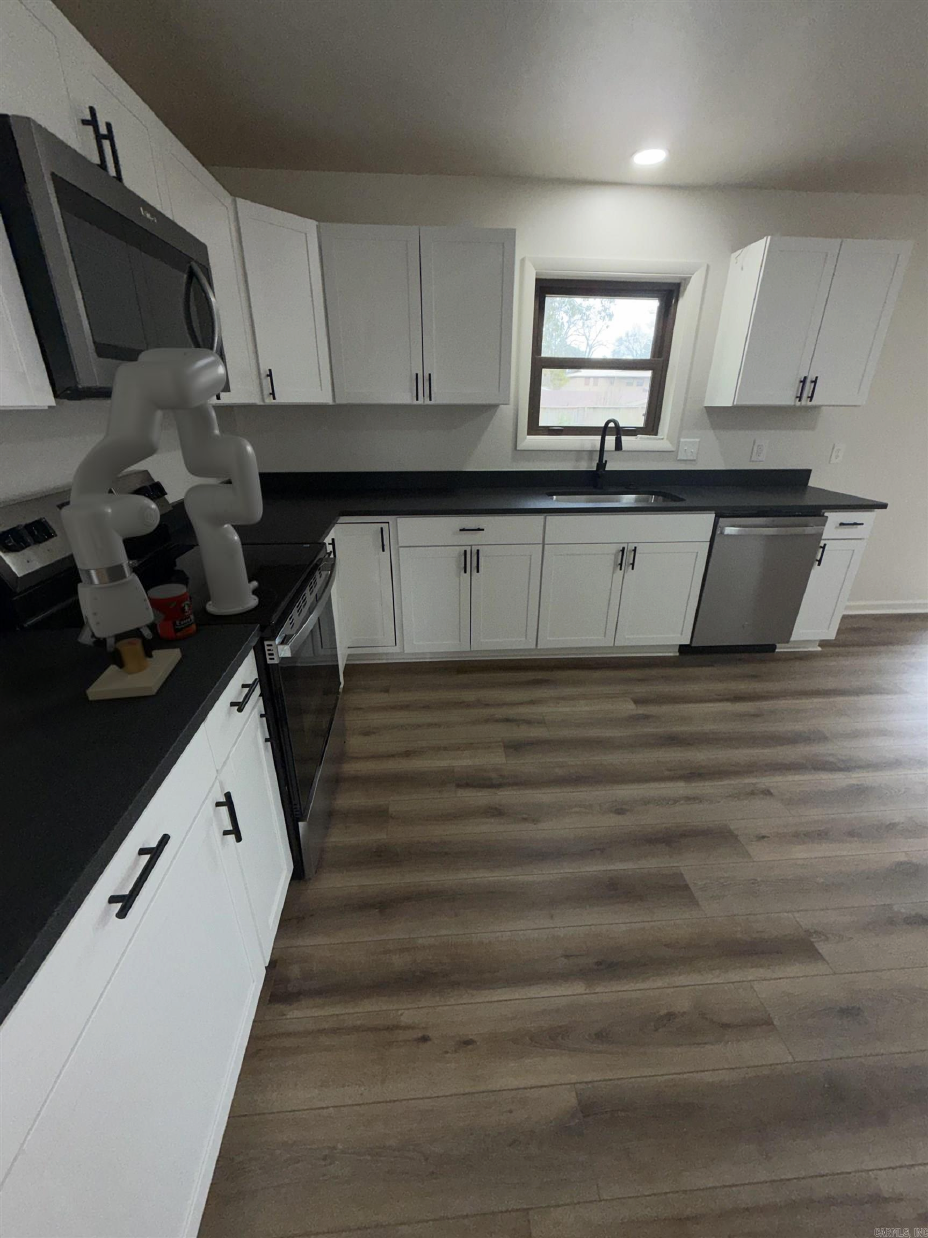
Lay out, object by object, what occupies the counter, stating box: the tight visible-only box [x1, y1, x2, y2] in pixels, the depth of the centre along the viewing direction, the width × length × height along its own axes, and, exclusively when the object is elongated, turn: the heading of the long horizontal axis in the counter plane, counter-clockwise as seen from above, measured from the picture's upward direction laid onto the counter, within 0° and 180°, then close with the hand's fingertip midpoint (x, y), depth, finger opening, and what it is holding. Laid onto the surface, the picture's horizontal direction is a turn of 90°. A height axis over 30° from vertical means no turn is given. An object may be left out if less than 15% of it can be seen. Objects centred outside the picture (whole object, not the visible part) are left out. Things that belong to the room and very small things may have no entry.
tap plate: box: [85, 648, 182, 701], centre depth 98 cm, size 15×11×2 cm
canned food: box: [147, 583, 197, 641], centre depth 114 cm, size 8×8×11 cm
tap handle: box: [115, 637, 149, 674], centre depth 96 cm, size 4×4×6 cm
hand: (133, 660), depth 97 cm, fingers closed on tap handle, 4 cm apart
